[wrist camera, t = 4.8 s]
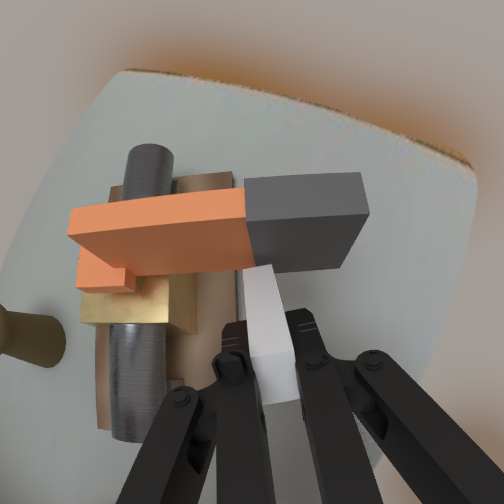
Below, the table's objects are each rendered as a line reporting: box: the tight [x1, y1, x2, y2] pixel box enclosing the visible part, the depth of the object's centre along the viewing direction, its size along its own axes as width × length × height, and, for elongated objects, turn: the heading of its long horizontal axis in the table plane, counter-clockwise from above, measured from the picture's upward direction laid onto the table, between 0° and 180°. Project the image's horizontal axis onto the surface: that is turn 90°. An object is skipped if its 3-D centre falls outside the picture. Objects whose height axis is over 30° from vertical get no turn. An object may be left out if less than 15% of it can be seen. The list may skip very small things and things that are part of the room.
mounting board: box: [95, 171, 238, 430], centre depth 30 cm, size 14×26×2 cm, turn 3°
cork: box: [0, 304, 66, 368], centre depth 25 cm, size 6×6×11 cm
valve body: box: [80, 144, 197, 443], centre depth 26 cm, size 7×24×8 cm, turn 3°
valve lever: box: [67, 172, 370, 293], centre depth 17 cm, size 16×4×8 cm, turn 93°
